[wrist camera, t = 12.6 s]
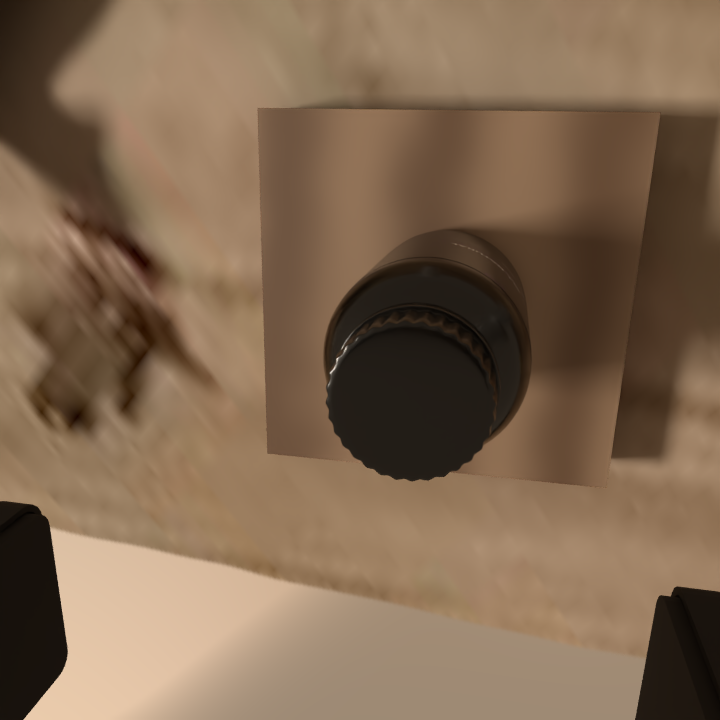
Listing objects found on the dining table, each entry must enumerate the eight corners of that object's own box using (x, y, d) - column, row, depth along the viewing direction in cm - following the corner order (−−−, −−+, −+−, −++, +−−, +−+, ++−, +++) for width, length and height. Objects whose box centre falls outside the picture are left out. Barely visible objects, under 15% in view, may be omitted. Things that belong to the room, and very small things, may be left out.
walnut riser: (645, 114, 29) (660, 112, 26) (597, 458, 34) (606, 488, 31) (279, 110, 32) (257, 108, 29) (285, 429, 37) (267, 453, 34)
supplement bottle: (530, 226, 28) (551, 287, 17) (521, 383, 30) (533, 528, 19) (365, 225, 30) (284, 281, 18) (368, 375, 32) (296, 508, 20)
